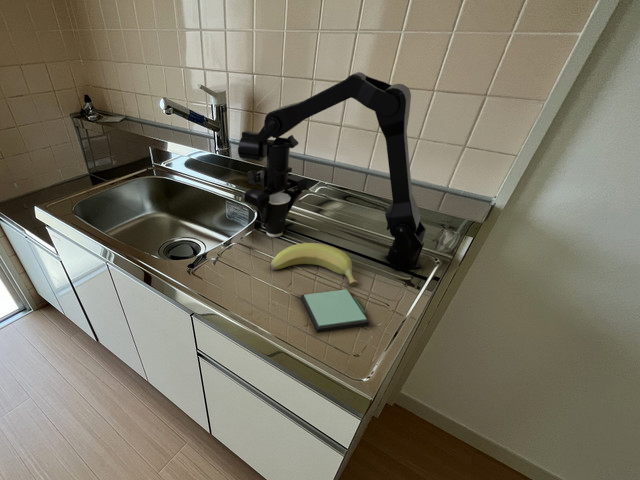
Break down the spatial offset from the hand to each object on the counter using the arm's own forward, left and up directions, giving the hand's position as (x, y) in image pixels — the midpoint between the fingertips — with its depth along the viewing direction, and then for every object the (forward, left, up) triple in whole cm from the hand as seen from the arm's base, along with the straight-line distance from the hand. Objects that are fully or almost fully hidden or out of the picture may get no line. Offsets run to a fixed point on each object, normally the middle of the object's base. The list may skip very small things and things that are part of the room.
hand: (275, 218), depth 97 cm
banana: (-5, +22, -5) cm, 23 cm away
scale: (-4, +36, -5) cm, 37 cm away
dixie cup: (0, 0, -5) cm, 5 cm away
